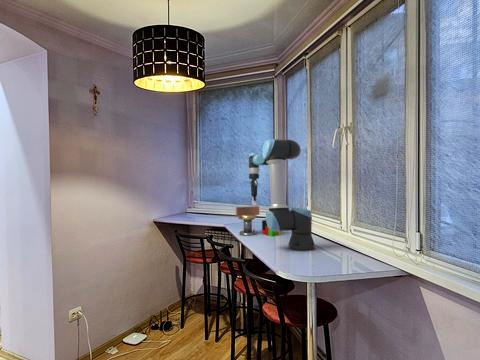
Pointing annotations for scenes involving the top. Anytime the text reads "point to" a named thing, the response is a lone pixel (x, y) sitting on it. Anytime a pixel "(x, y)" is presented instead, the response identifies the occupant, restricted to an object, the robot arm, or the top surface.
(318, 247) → the top surface
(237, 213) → the coupling
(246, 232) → the post
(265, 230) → the puzzle toy
